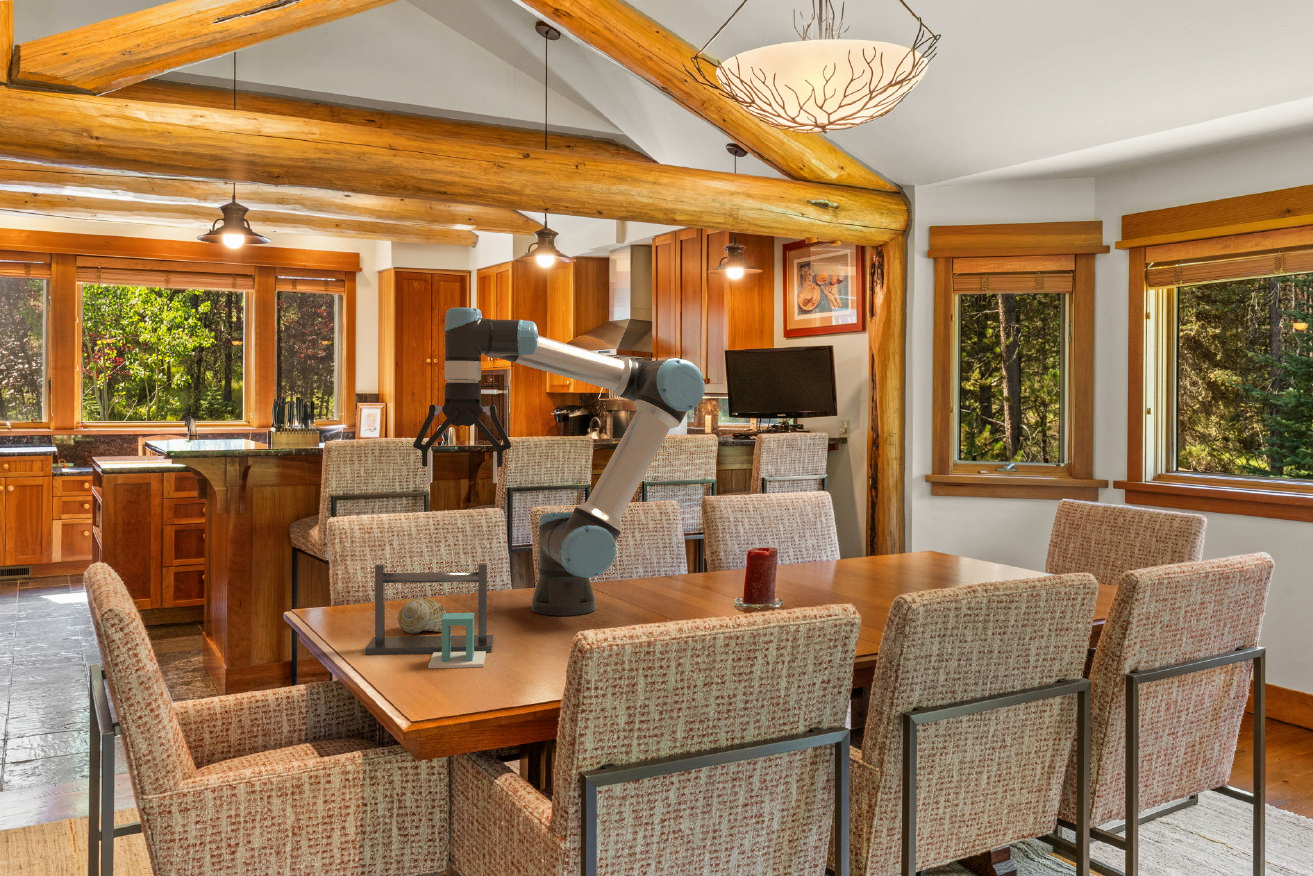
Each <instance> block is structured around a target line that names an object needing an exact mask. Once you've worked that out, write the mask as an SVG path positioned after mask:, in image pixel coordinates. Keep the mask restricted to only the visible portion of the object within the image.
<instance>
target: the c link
mask: <svg viewBox="0 0 1313 876" xmlns="http://www.w3.org/2000/svg"><path fill="white" fill-rule="evenodd" d="M452 626H465V635H466V661H473V657H474V635H475V612H449V613H448V612H447V613H444V616H443V618H442V632H441V636H442V662H448V661H449V658H450V655H451V636H452Z"/></svg>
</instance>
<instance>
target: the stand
mask: <svg viewBox="0 0 1313 876" xmlns="http://www.w3.org/2000/svg"><path fill="white" fill-rule="evenodd" d="M385 566H386V564H381V563H379V564H378V563H376V564H375V565H374V636H372V638H371V640H370V641H369V643H368V644H367V646H366V647H365V650H364V651H365V655H367V656H369V655H371V656H372V655H411V654H412V655H413V654H415V655H417V654H420V655H421V654H423V655H424V654H433V652H442V635H414V636H413V635H412V636H411V635H409V636H408V635H407V636H385V634H386V629H385V628H386V627H385V626H386V620H385V619H386V618H385V616H386V615H385V613H386V612H385V611H386V608H385V606H386V603H385V600H386V596H385V594H386V590H385V589H386V587H385V586H386V584H421V583H423V584H425V583H426V584H427V583H429V584H434V583H437V584H439V583H478V586H477V587H478V589H477V590H478V592H477V593H478V600H477V601H478V603H477V605H478V611H477V612H478V614H477V615H478V617H477V618H478V620H477V621H478V622H477V623H478V626H477V627H478V628H477V630H478V632H477V634H474V651H486V653H492V652H493V646H494V641H495V640H494V638H495V637H494V634H488V563H485V562H483V563H478V571H464V572H463V571H462V572H461V571H458V572H457V571H452V572H450V571H449V572H447V571H443V572H440V571H439V572H438V571H437V572H436V571H435V572H434V571H433V572H386V569H385V568H386V567H385ZM451 652H466V634H464V635H462V634H460V635H457V634H456V635H451Z"/></svg>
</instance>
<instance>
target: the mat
mask: <svg viewBox="0 0 1313 876" xmlns="http://www.w3.org/2000/svg"><path fill="white" fill-rule="evenodd" d="M486 655H487V652H486V651H474V657H473V661H466V652H451V655H450V658H449V661H448V662H442V652H433V653H432V655H431V658H430V660H429V663H428V665H427V667H428V669H460V668H461V669H462V668H465V669H466V668H484V667H485V663H486V662H485V661H486Z"/></svg>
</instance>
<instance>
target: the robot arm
mask: <svg viewBox="0 0 1313 876" xmlns="http://www.w3.org/2000/svg"><path fill="white" fill-rule="evenodd" d="M444 322H445V323H444V329H443V330H444V331H443V332H444V380H446V381H447V382H445V383H444V404H443V406H442V405H435V404H430V405H429V407H428V413H427V414H428V415H427V416H426V419H425V421H424V422H423V424H422V426H421V429H420V430H419V432H418V434H417V437H416V438H415V440H414V443H412V444H413V445H412V447H413V449H417V450H419V451H420V452H421V467H424V468H425V467H426V468H427V469H426V472H427V473H426V474H427V475H426V477H427V478H426V483H427V484H431V483H433V451H431V450H430V449H431V447H432V446H433V445H434V444H435V442H437V440H439V438H440V437H441V436H442V435H443V434H444V432H445V431H446V430H447V429H448V428H449V427H451V425H452V426H454V427H460V426H464V427H472V426H473V425H475V426H476V428H477V429H478V430H479V431H480V432H481V433H482V434H483V436H484V437H485V438H486V439H487V440H488V442H489V443H490V444H491V445H492V447H493V448H494V449H495V450H496V451H493V452H492V456H493V457H492V460H493V462H492V484H497V483H498V468H502V467H503V465H504V463H503V462H504V460H503V459H504V456H503V455H504V454H503V453H504V451H507V450H509V449H511V448H512V443H511V441H510V439H509V437H508V435H507V433H506V431H505V429H504V427H503V425H502V423H501V421H500V419H499V418H498V415H497V408H496V407H497V406H496V405H494V404H491V405H488V406H483V405H482V384H481V383H479V381H481V380H482V355H483V356H485V357H488V358H491V359H501V360H504V361H507V362H510V363H511V362H512V363H516V364H519V365H523V366H526V367H529V368H532V369H536V370H540V371H543V372H546V373H549V374H550V373H551V374H554V375H557V376H561V377H565V378H568V379H572V380H575V381H579V382H582V383H585V384H589V385H593V386H596V387H599V388H602V389H603V388H604V389H607V390H610V391H612V392H613V394H614V396H616V397H620V398H623V399H626V400H629V401H632V402H634V405H635V408H636V412H635V413H634V416H633V417H632V419H631V420H630V423H629V425H628V427H627V428H626V430H625V432H624V434H623V436H622V437H621V438H620V441H619V443H618V444H617V446H616V448H615V450H614V452H613V454H612V455H611V457H610V458H609V460H608V462H607V464H606V466H605V468H604V469H603V471H602V473H601V474H600V477H599V478H598V480H597V482H596V484H595V485H594V488H593V489H592V491H591V493H590V495H589V496H588V498H587V500H586V501H585V502H584V503H582V504H578V505H576V506H575V508H574V509H573V511H567V512H565V511H564V512H563V511H562V512H544V513H542V514H541V515H540V516H539V522H538V523H539V525H538V531H539V532H538V549H539V550H538V579H537V581H536V582H537V583H536V585H535V588H534V591H533V594H532V597H531V603H530V604H531V607H530V608H531V609H530V610H531V611H532V612H533V613H537V614H540V615H546V616H547V615H548V616H557V617H558V616H560V617H561V616H565V617H566V616H578V615H584V614H588V613H589V614H590V613H593V612H595V610H596V608H597V604H596V602H597V601H596V596H595V593H594V590H593V586H592V583H591V580H590V578H595V577H597V576H600V575H602V574H604V573H605V572H607V570H608V569H610V567H611V566H612V564H613V563H614V561H615V558H616V556H617V555H616V554H617V545H616V543H617V540H618V539H619V537H620V535H621V533H622V526H621V519H622V517H623V516H624V513H625V511H626V510H627V509H628V506H629V505H630V502H631V501H632V498H633V497H634V495H635V494H636V491H637V490H638V488H639V487H640V484H641V483H642V480H643V479H644V477H645V475H646V474H647V472H648V470H649V469H650V466H651V464H652V462H653V461H654V459H655V457H656V455H657V453H658V452H659V450H660V448H661V446H662V444H663V442H664V440H665V439H666V437H667V435H668V433H669V431H670V430H671V429H674V428H678V427H680V425H681V424H682V421H683V420H684V418H685V416H686V415H687V413H688V411H691V410H693V409H694V408H696V407H697V406H698V405H699V404H700V403H701V402H702V400H703V398H704V395H705V390H706V389H705V387H706V384H705V381H704V376H703V373H702V372H701V370H700V369H699V367H698V366H697V365H696V364H694V363H693V362H691V361H690V360H686V359H681V358H678V357H677V358H676V357H675V358H669V359H662V360H661V359H660V360H642V359H641V360H640V359H635V358H631V357H627V356H626V357H624V358H622V359H619V358H617V357H612V356H609V355H606V354H602V353H599V352H596V351H592V350H589V349H586V348H582V347H579V346H575V345H571V344H569V343H565V342H562V341H559V340H555V339H552V338H548V337H545V336H542V335H539V331H538V327H537V324H536V323H535V322H534V321H532V320H522V319H496V318H495V319H493V318H492V319H491V318H485V317H483V316H482V311H481V310H480V309H479V308H475V307H451V308H449V309H447V311H446V312H445V321H444ZM440 412H442V413H443V414H444V416H445V418H446V419H445V420H444V421H443V423H442V424H440V426H439V427H438V428H437V429H436V431H434V433H433V434H432V435H431V436H430V438H429V439H427V441H426V442H425V443H424V444H423V441H424V439H425V437H426V435H427V433H428V431H429V430H430V427H431V425H432V424H433V422H434V419H435V417H436V416H438V415H439V414H440ZM484 412H485V413H486V415H487V416H488V417H490V418H491V421H492V423H493V425H494V427H495V429H496V431H497V432H498V435H499V437H500V438H501V441H502V443H503V444H501V443H500V442H499V441H498V440H497V439H496V437H495V436H494V435H493V434H492V433H491V432H490V430H489V429H488V428H487V426H485V425H484V424H483V422H482V421H481V419H479V418H480V417H481V415H482V414H483V413H484Z"/></svg>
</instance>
